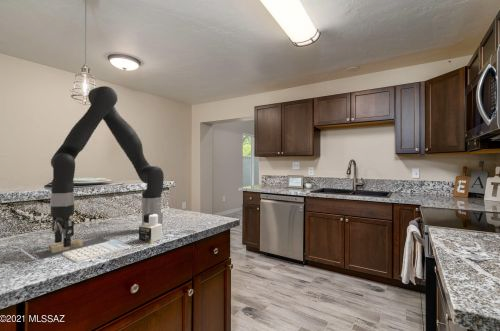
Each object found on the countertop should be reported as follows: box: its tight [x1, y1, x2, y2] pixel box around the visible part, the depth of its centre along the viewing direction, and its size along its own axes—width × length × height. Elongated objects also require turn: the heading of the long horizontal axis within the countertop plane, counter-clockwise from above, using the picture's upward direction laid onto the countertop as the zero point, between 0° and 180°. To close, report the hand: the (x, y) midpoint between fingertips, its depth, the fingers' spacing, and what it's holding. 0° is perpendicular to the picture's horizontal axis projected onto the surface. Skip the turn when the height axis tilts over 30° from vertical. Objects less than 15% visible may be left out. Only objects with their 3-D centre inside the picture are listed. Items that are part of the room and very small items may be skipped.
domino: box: [48, 238, 83, 253], centre depth 99 cm, size 4×2×10 cm
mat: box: [33, 237, 110, 259], centre depth 101 cm, size 24×9×1 cm, turn 146°
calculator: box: [61, 239, 130, 263], centre depth 97 cm, size 13×20×2 cm, turn 145°
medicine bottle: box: [138, 213, 163, 245], centre depth 112 cm, size 7×7×12 cm
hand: (62, 244), depth 98 cm, fingers open, 8 cm apart
